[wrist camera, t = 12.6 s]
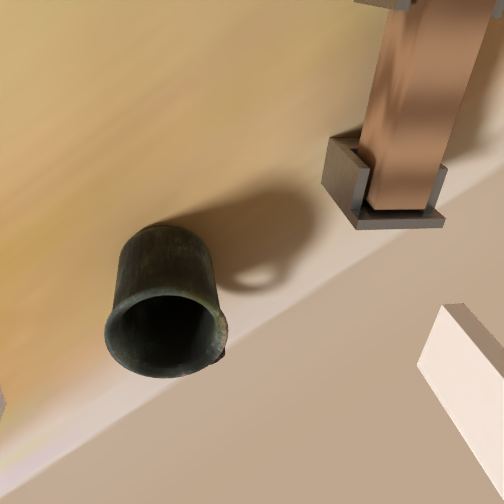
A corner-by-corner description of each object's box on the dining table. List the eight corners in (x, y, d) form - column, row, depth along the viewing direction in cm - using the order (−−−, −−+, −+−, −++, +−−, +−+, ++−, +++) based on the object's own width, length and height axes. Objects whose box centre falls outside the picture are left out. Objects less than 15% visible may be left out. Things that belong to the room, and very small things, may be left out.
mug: (172, 200, 44) (176, 267, 35) (248, 284, 52) (269, 358, 43) (93, 256, 46) (75, 334, 37) (178, 329, 54) (182, 409, 45)
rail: (398, -30, 34) (439, -29, 29) (454, -24, 35) (503, -22, 30) (350, 181, 43) (374, 209, 39) (395, 182, 44) (424, 209, 40)
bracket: (329, 137, 44) (368, 177, 35) (406, 139, 45) (460, 177, 37) (321, 183, 46) (355, 230, 38) (394, 182, 48) (442, 227, 40)
